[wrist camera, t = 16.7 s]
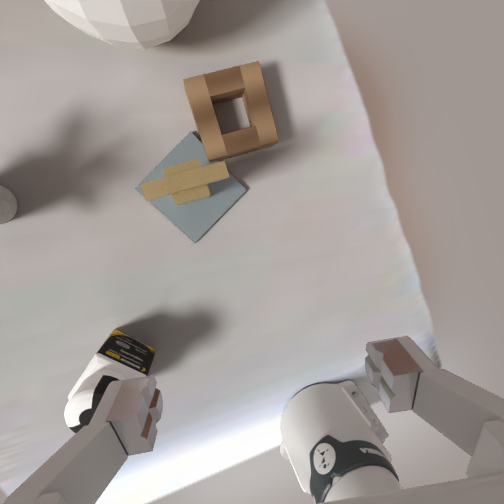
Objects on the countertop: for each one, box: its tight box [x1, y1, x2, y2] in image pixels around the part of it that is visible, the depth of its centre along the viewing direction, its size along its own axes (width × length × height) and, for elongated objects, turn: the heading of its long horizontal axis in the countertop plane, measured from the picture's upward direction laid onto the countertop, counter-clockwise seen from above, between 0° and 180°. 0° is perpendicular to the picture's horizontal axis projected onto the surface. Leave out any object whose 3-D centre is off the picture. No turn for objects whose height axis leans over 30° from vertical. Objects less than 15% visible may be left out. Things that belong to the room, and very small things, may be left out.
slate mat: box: [135, 132, 246, 243], centre depth 38 cm, size 11×11×1 cm
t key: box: [140, 158, 229, 205], centre depth 31 cm, size 4×8×14 cm, turn 107°
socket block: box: [183, 61, 279, 163], centre depth 36 cm, size 10×10×3 cm
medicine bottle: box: [64, 330, 156, 433], centre depth 35 cm, size 7×7×12 cm
